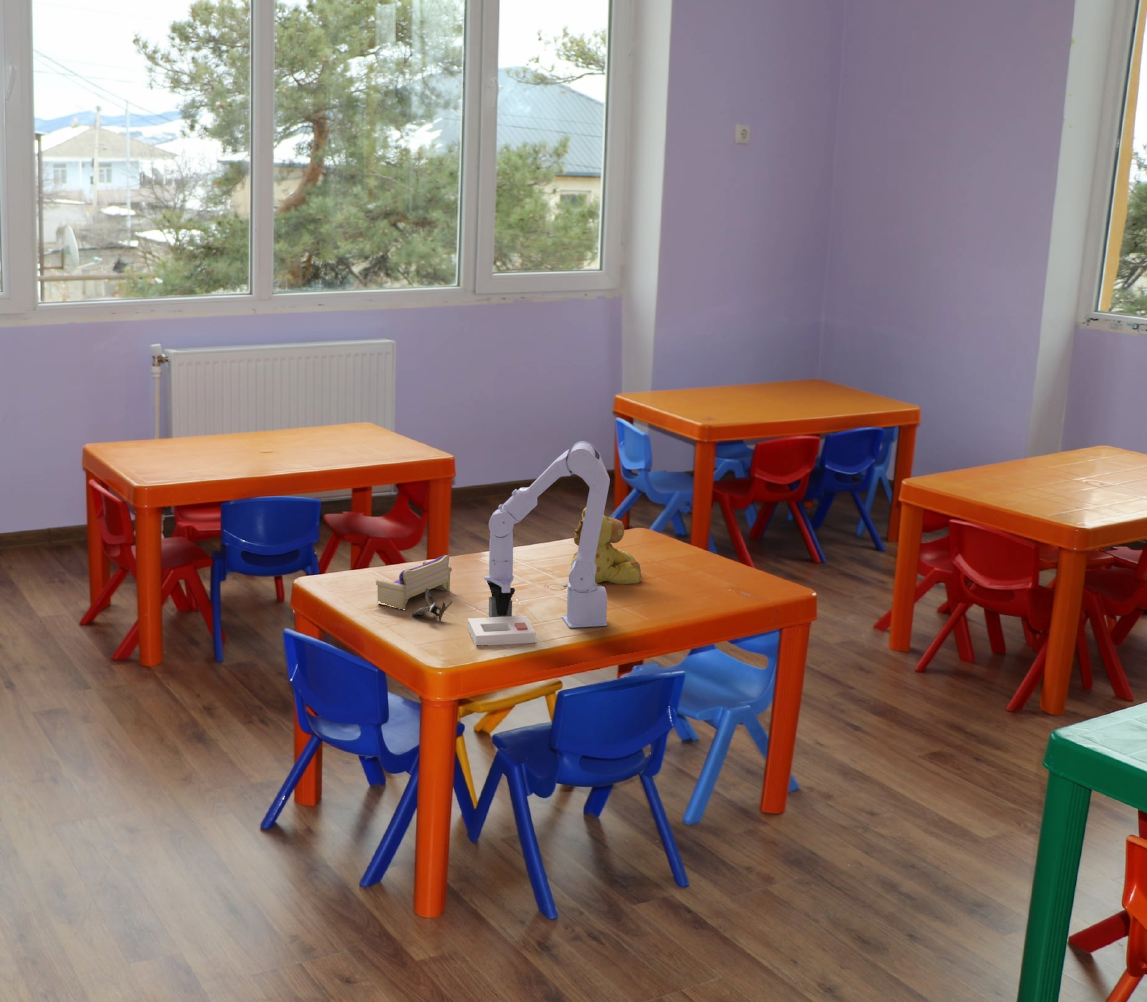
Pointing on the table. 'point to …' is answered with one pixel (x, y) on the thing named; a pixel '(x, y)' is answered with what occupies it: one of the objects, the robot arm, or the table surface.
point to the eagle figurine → (432, 607)
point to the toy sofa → (415, 582)
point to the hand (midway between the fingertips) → (500, 611)
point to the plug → (494, 612)
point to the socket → (501, 630)
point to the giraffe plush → (611, 554)
